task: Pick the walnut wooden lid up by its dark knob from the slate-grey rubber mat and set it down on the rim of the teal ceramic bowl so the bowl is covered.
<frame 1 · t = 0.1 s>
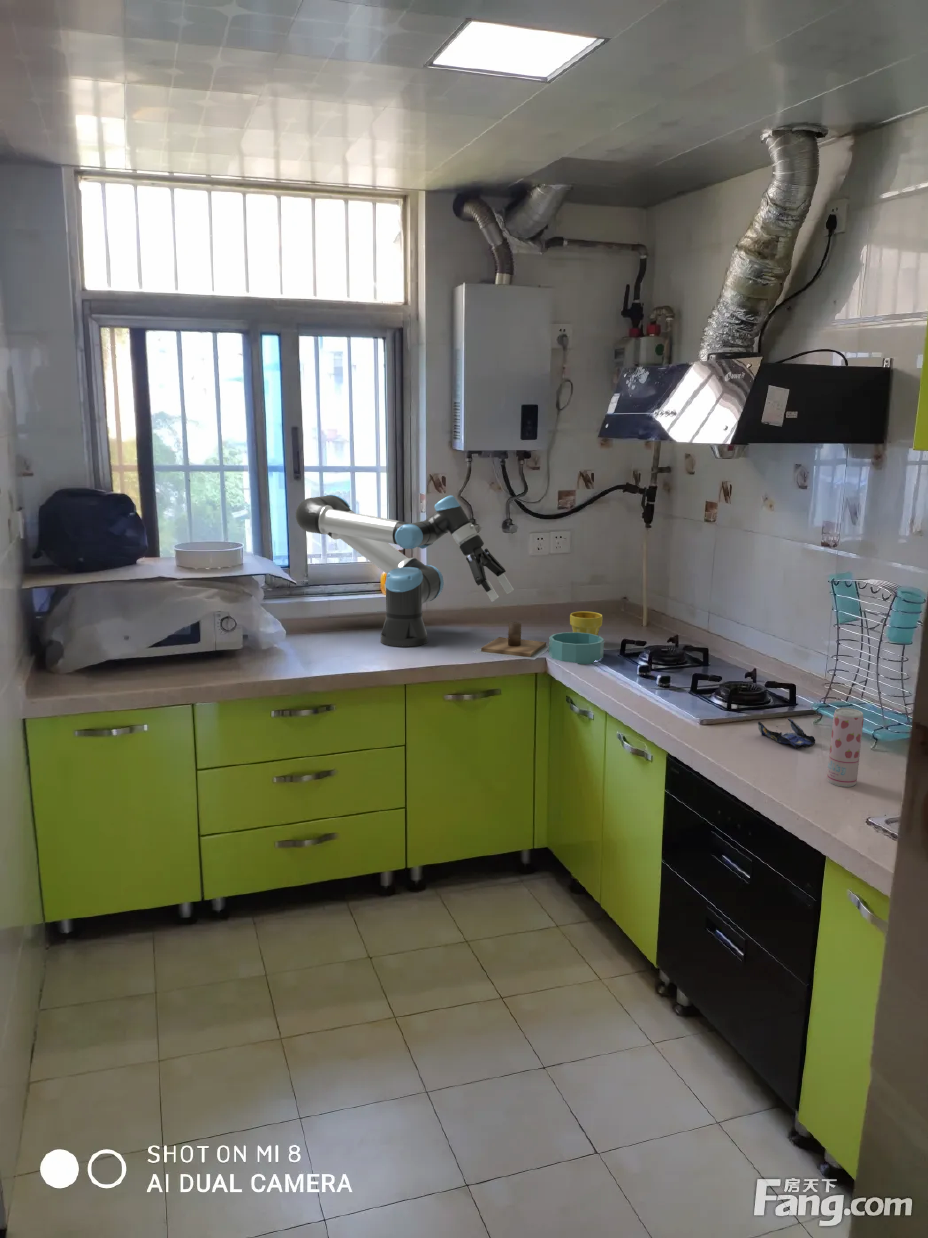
hand: (503, 595, 300), 15 cm above the countertop, tool tilted 35°, fingers open, 13 cm apart
mat: (514, 650, 294), on the countertop
bowl: (575, 657, 286), on the countertop
beverage can: (841, 783, 191), on the countertop
lid: (514, 648, 293), resting on mat
plant pot: (585, 644, 303), on the countertop
snack package: (786, 744, 214), on the countertop
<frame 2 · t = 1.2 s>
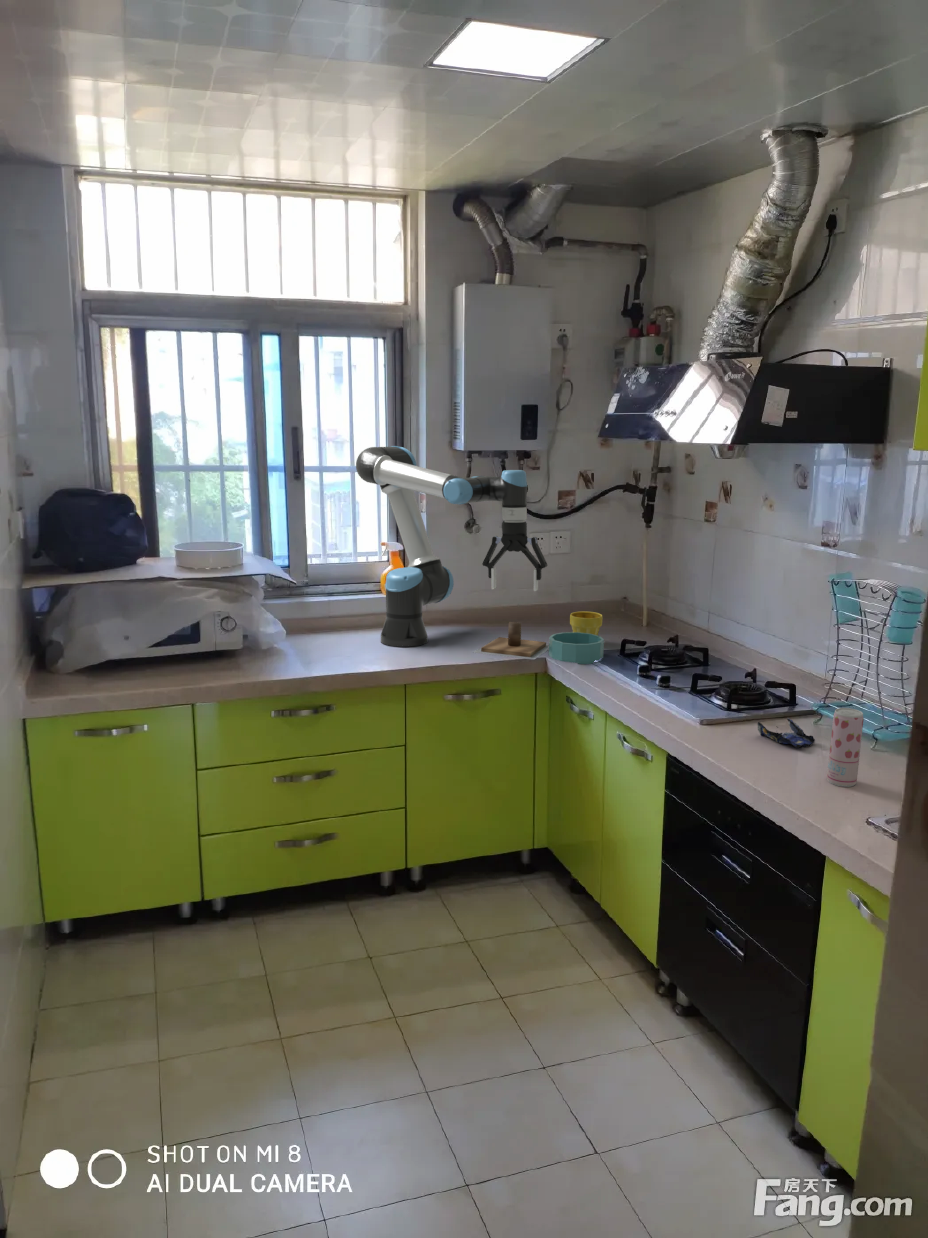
hand: (514, 589, 290), 19 cm above the countertop, tool pointing down, fingers open, 13 cm apart
nothing on the countertop moved.
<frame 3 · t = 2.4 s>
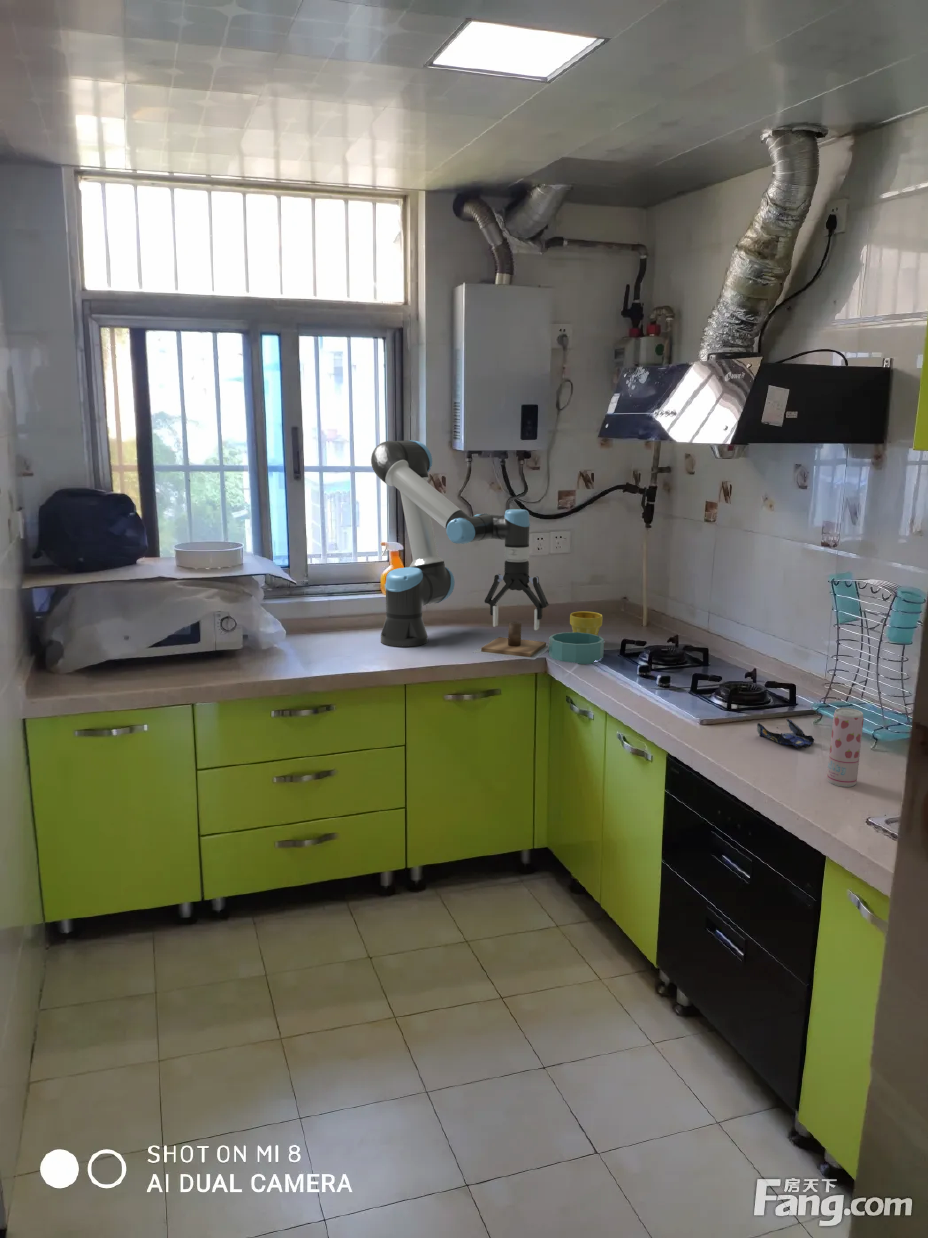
hand: (515, 627, 292), 7 cm above the countertop, tool pointing down, fingers open, 13 cm apart
nothing on the countertop moved.
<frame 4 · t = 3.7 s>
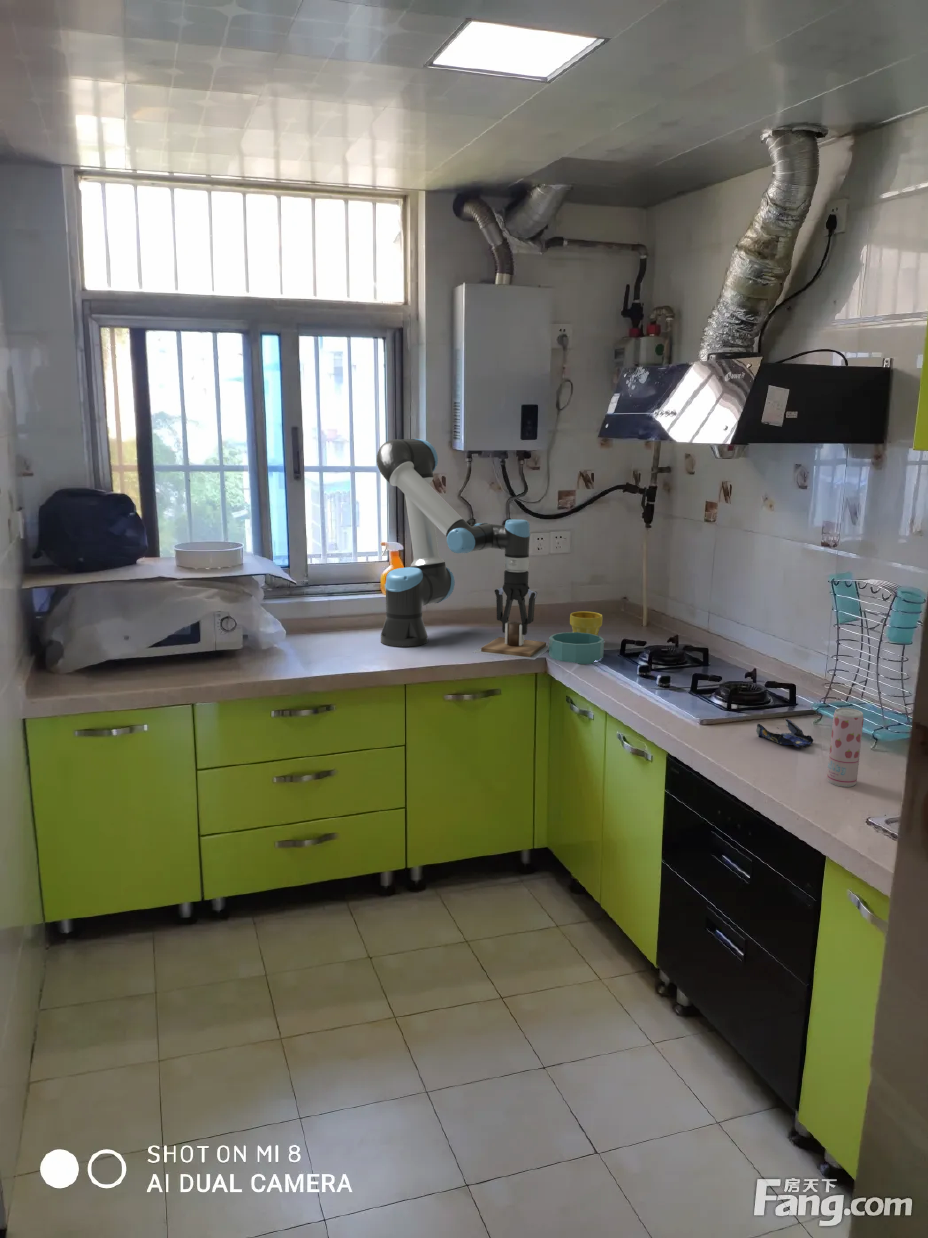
hand: (514, 643, 293), 2 cm above the countertop, tool pointing down, fingers closed on lid, 4 cm apart
lid: (514, 648, 293), resting on mat, touching gripper
everything else where it was.
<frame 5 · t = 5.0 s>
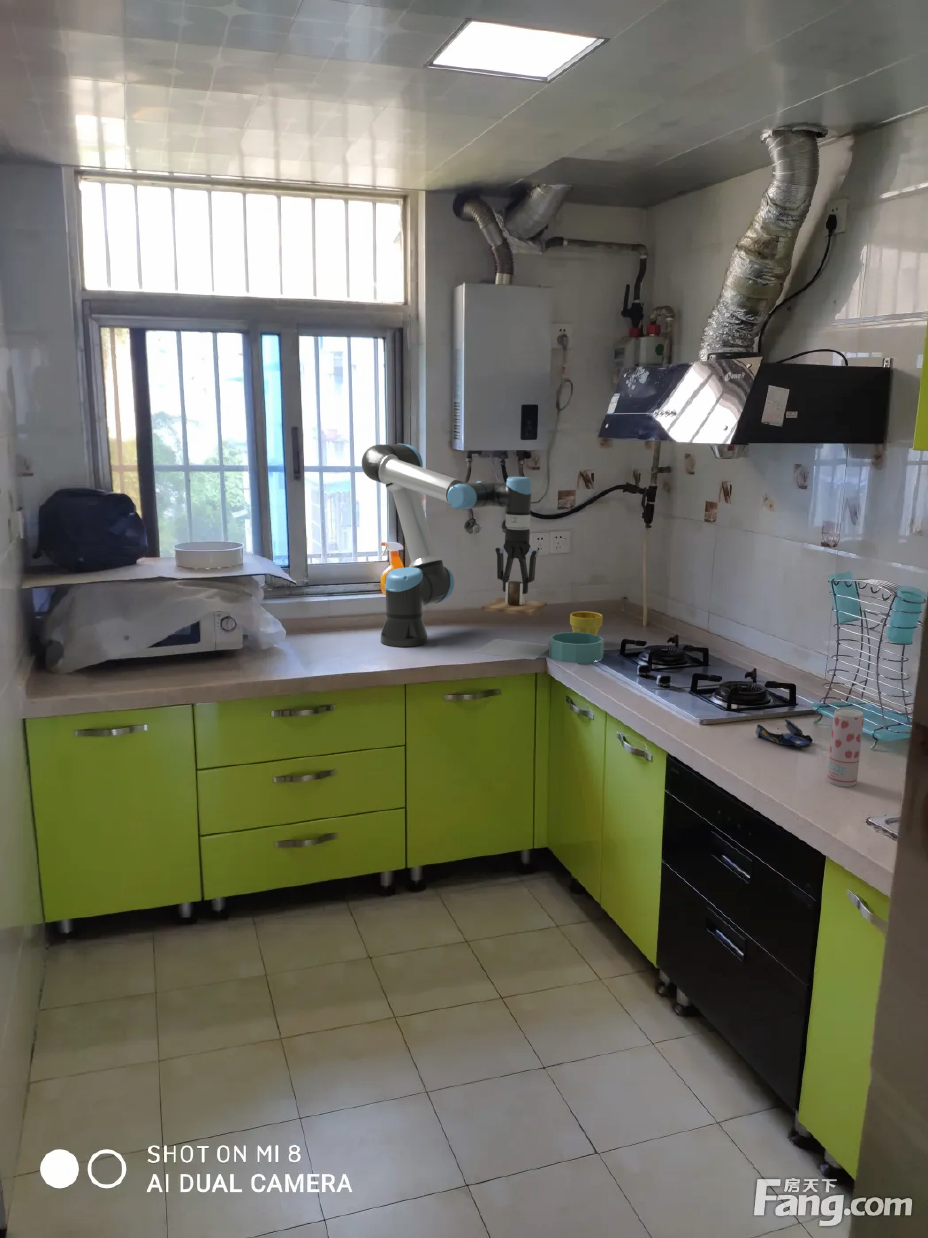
hand: (514, 602, 290), 15 cm above the countertop, tool pointing down, fingers closed on lid, 4 cm apart
lid: (514, 608, 291), point 13 cm above the countertop, touching gripper
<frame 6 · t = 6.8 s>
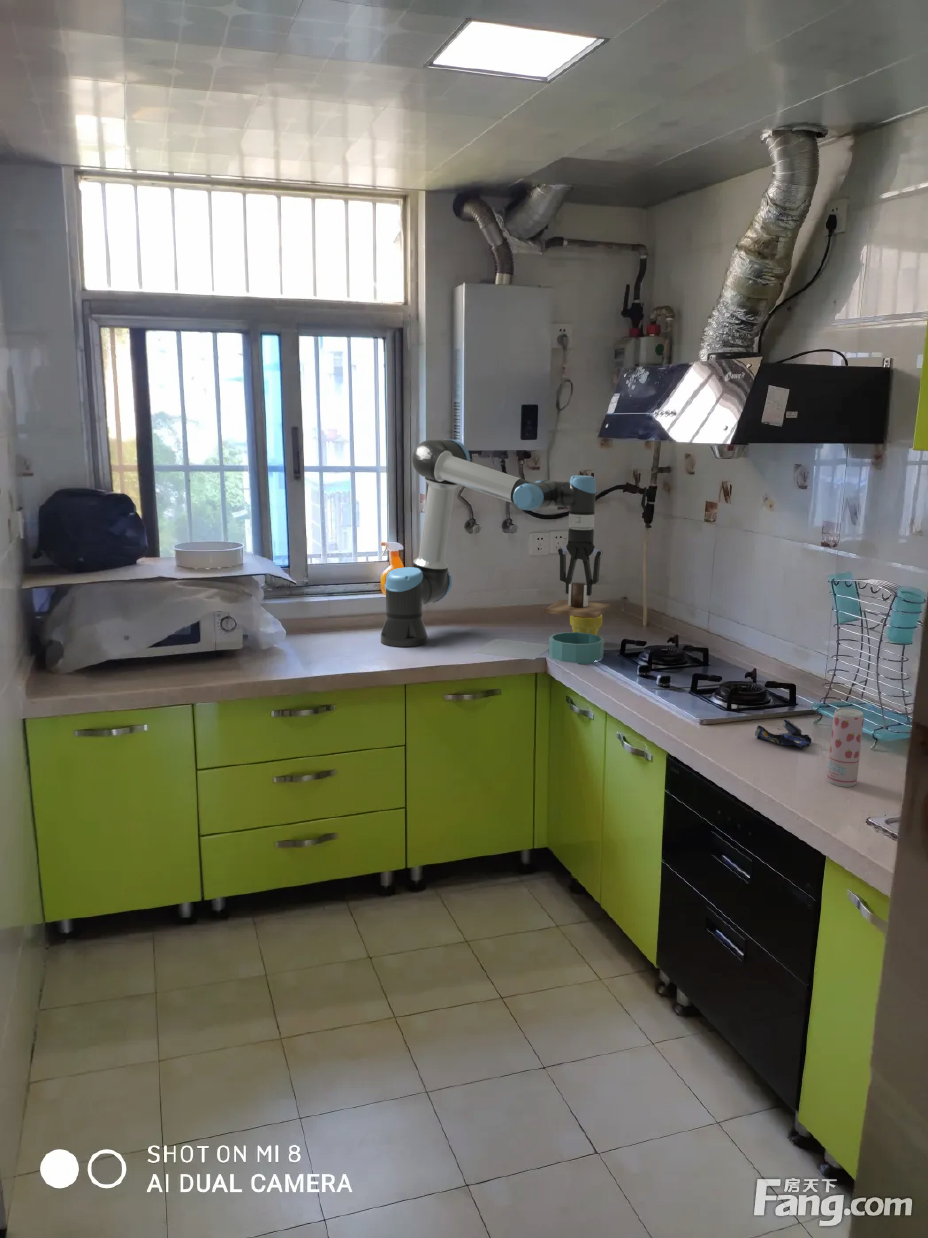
hand: (578, 605, 283), 16 cm above the countertop, tool pointing down, fingers closed on lid, 4 cm apart
lid: (577, 610, 283), point 15 cm above the countertop, touching gripper
when the fingers open (9 cm above the countertop, at t = 8.6 s): lid drops 1 cm, resting on bowl.
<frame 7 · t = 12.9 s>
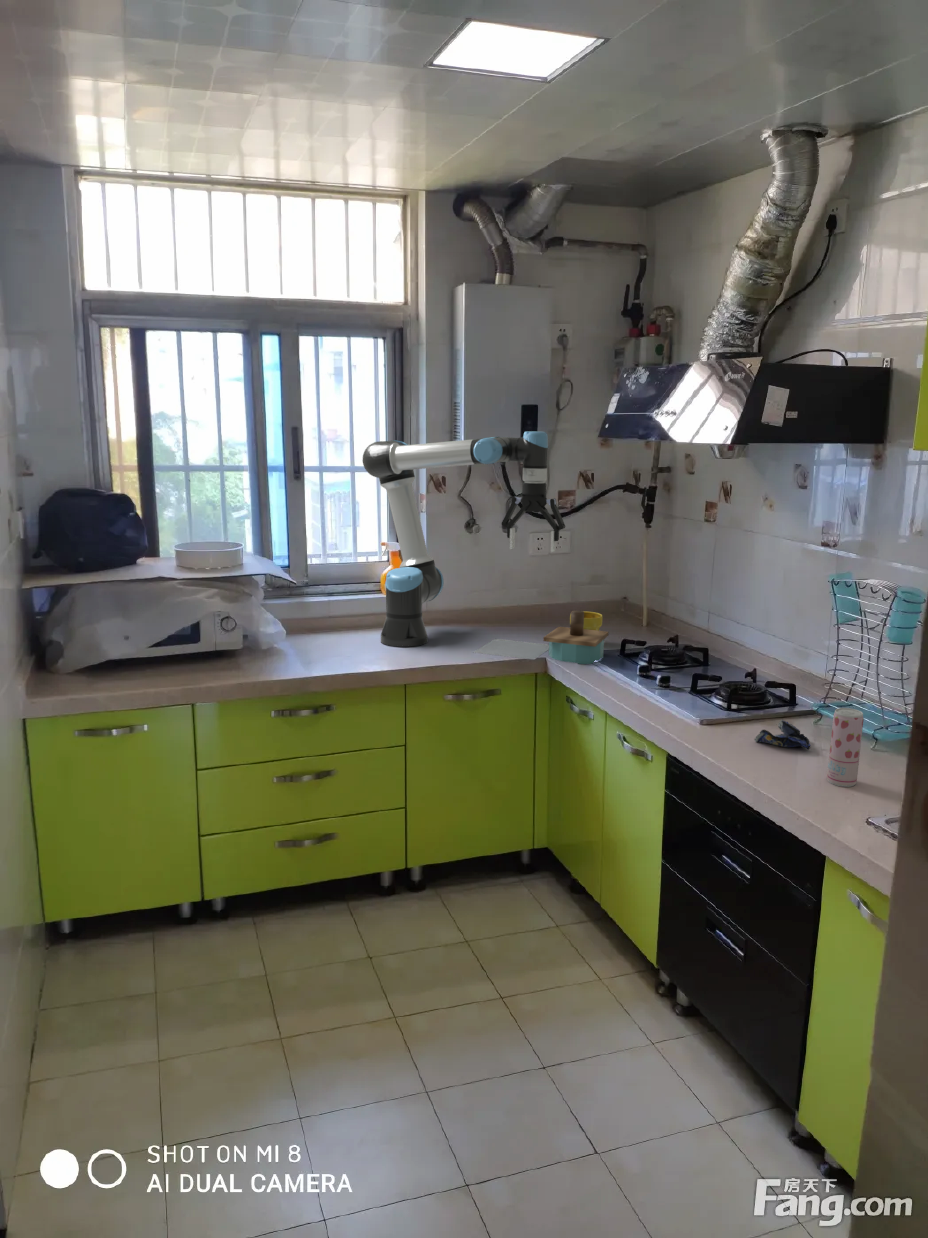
hand: (532, 550, 294), 31 cm above the countertop, tool pointing down, fingers open, 13 cm apart
lid: (576, 638, 285), point 6 cm above the countertop, touching bowl
snack package: (784, 746, 212), on the countertop
everything else where it was.
at the end: lid 0.1 cm off-centre on the bowl, point 6.0 cm above the bowl's base; lid tilted 0°; the gripper is holding nothing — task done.
